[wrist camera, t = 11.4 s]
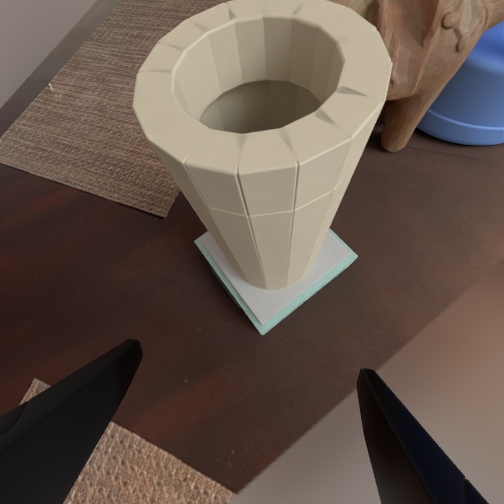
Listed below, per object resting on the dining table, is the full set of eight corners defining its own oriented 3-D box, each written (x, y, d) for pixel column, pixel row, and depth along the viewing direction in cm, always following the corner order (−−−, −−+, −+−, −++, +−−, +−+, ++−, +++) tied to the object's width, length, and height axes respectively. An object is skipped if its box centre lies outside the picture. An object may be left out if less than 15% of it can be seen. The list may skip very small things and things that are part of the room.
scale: (260, 337, 20) (257, 337, 17) (199, 251, 23) (188, 240, 21) (350, 264, 21) (361, 253, 19) (280, 193, 25) (279, 175, 22)
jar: (322, 285, 18) (432, 146, 5) (232, 294, 19) (118, 190, 6) (307, 206, 20) (355, -26, 7) (228, 216, 21) (143, 16, 8)
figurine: (261, 123, 28) (243, -85, 14) (416, 108, 27) (569, -149, 13) (262, 174, 26) (242, -20, 12) (434, 160, 24) (650, -87, 10)
